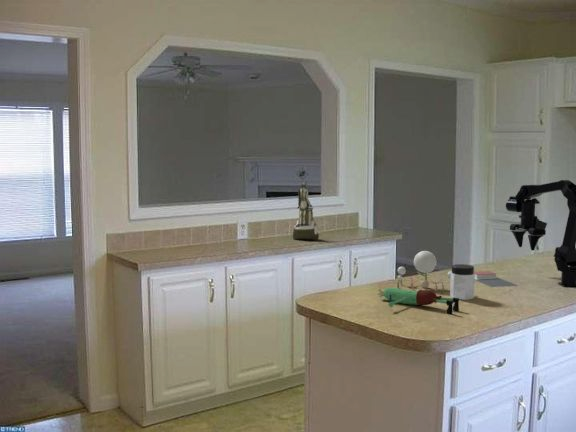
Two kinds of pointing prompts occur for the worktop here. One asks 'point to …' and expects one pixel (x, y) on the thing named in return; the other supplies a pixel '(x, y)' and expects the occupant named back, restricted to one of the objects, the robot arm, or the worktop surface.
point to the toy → (417, 298)
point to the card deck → (484, 275)
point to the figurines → (423, 269)
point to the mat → (495, 282)
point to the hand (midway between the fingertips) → (526, 248)
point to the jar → (462, 282)
